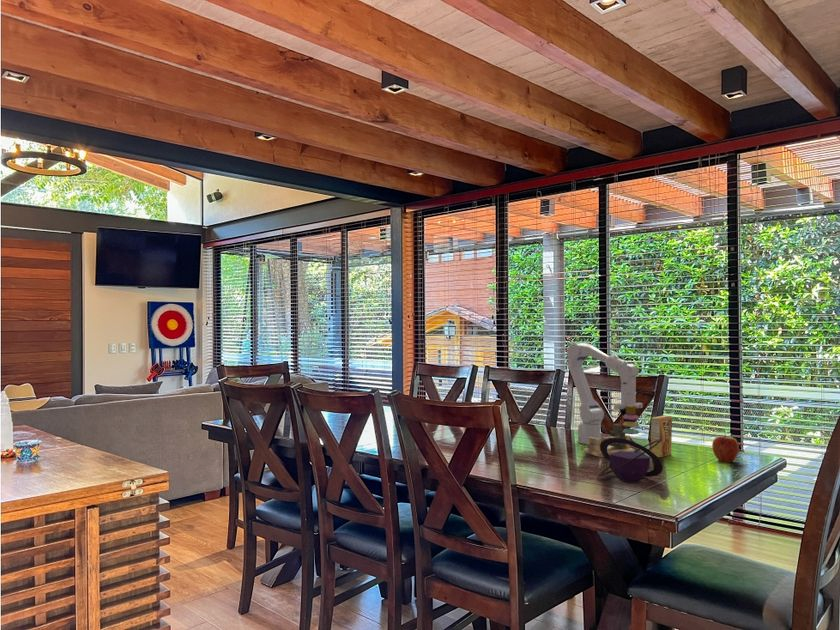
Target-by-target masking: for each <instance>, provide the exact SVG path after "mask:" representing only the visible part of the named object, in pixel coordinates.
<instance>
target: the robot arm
mask: <svg viewBox="0 0 840 630" xmlns="http://www.w3.org/2000/svg"><path fill="white" fill-rule="evenodd" d="M566 355H567V365H568V369H569V371H570V375H571V377H572V380H573V383H574V386H575V388H576V391H577V395H578V397H579V400H580V402H581V403H580V405H579V408H578V409H579V416H580V419H581V421H582V422H580V423H579V424H578V426H577V440H576V443H579V444H583V445H587V446H588V437H594V438H600V437H602V436H601V433H602V432H601V431H602V430H601V426H602V421H603V420H604V417H605V411H604V410H603V409H602V407H601V406H600V404H599V402H597V400H595V399H594V396H593V393H592V390H591V389H590V385H589V382H588V379H587V377H586V375H585V372H584V368H583V364H584V362H585V361H586V360H587V359H588V358H589V357H591V358H595V359H596V360H598V361H600V362H603V363H604V364H605V367H606V368H608V369H609V370H612V371H613V372H614V373H617V374H618V376H619V377H620V403H616V404H613V410H615V411H619V412H620V414H621V417H622V419H623V423H624V422H625V421H626V422H634V420H630V419H624V418H623V416H624V415H625V414H626V409H625V406H626V405H633V406H636V414H637V412H638V409H643V407H644V406H643V405H644V404H643V403H642V402H637V401H636V397H637V396H636V394H637V393H636V391H637V390H636V385H637V381H636V379H637V378H636V377H638V375H639V368H638V366H637V364H635V363H628V361H627V360H623V359H621V358H619V356H618V355H616V354H615V355H613V354H612V355H608V354H606V353H604V352H603V351H602V350H599V349H598V348H597V347H595V346H593V345H592V344H589V343H588V342H583V343H582V342H581V343H577V342H574V343H573V342H571V344H569V346H568V348H567V349H566ZM636 414H632V415H636Z"/></svg>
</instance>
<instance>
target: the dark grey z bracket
mask: <svg viewBox="0 0 840 630" xmlns="http://www.w3.org/2000/svg"><path fill="white" fill-rule="evenodd" d="M622 431H623V425H622V424H618V423H613V424H612V430H610V431H609V436H617V435H619V438H621V439H625V435H626V434H625V433H623V432H622ZM609 446H613V447H618V448H623V447H624V448H625V444H624V443H619V444H617V443H615V444H610V445H609Z"/></svg>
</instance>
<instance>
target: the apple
mask: <svg viewBox="0 0 840 630" xmlns="http://www.w3.org/2000/svg"><path fill="white" fill-rule="evenodd" d="M711 448H712V451H713V454H714V456H715V458H716V459H717V460H718V461H720V462H723V461H724V462H723V463H733V461H735V460H736V458H737V456H738V454H739V451H740V446H739V442H738V440H737V439H736V438H734V437H733V436H727V435H726V434H724V436H723V435H718V436H716V437H715V438H714V439H713V441H712V447H711Z"/></svg>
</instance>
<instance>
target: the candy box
mask: <svg viewBox="0 0 840 630" xmlns="http://www.w3.org/2000/svg"><path fill="white" fill-rule="evenodd" d="M650 420H651V422H650V423H651V425H650V428H651V429H650V433H651V435H650V443H651V442H654V441H656V440H659V439H662V440H661V442H660V443H659V444H657V445H656V446H655V447H653V448H652V449H650V451H651V452H652V453H654V454H655V455H656V456H657V457H658V458H659V457H660V458H663V457H666V456H672V440H673V439H672V438H673V437H672V435H673V434H672V432H673V431H672V430H673V417H672V416H669V415H660V416H659V415H658V416H653V417H651V419H650ZM656 443H657V442H655V443H653V444H651V445H650V448H651V447H652V446H653V445H655V444H656Z"/></svg>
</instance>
